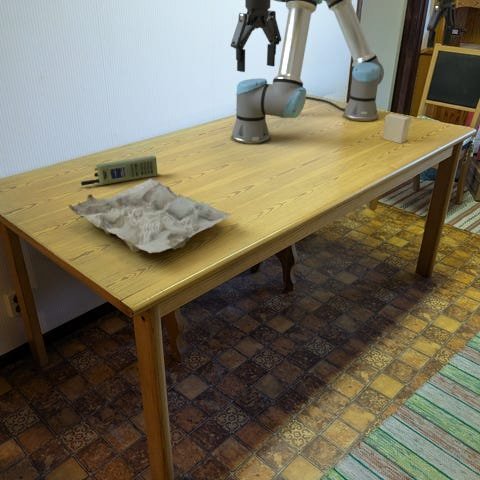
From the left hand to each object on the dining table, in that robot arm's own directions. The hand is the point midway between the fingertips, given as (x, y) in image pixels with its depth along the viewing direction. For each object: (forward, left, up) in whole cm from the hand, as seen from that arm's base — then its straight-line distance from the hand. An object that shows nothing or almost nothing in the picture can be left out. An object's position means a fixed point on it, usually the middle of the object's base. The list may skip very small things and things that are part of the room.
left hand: (256, 68), depth 161 cm
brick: (-22, +64, -34) cm, 76 cm away
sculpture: (+37, -37, -34) cm, 63 cm away
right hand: (-51, +94, -2) cm, 107 cm away
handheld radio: (+3, -46, -34) cm, 57 cm away
